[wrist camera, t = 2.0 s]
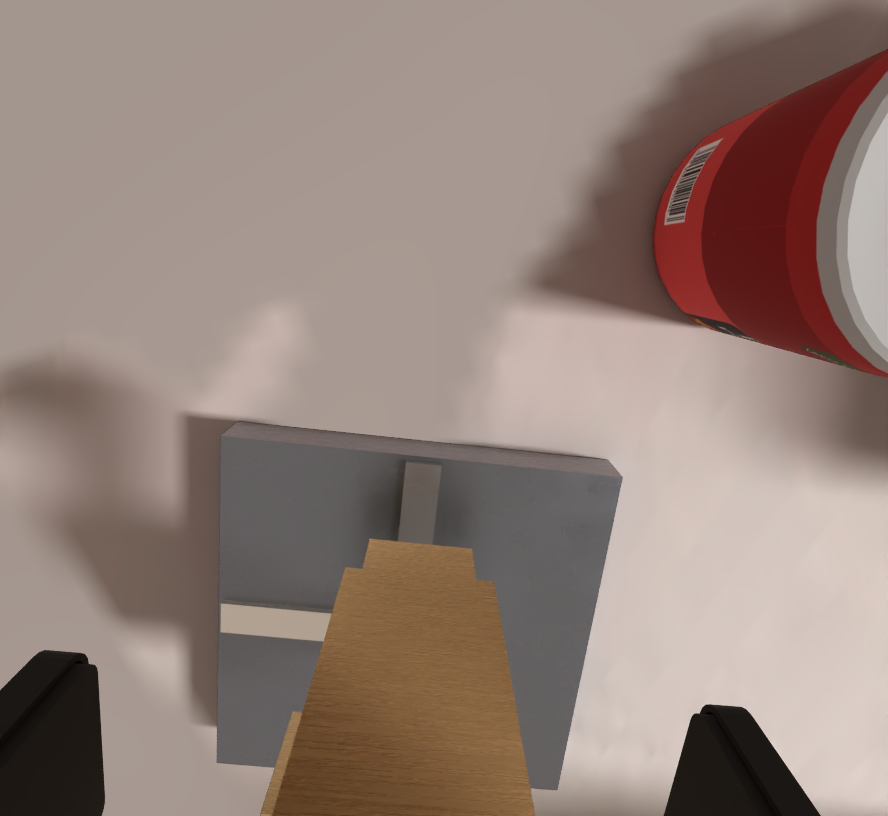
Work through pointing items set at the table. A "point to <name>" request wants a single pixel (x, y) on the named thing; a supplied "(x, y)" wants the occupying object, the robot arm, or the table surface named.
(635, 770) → the table surface
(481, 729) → the wooden zigzag joint
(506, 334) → the table surface
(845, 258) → the canned food
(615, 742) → the table surface
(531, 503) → the grey slotted plate
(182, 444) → the table surface
